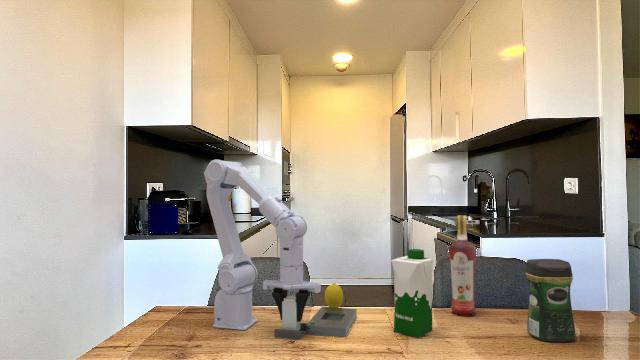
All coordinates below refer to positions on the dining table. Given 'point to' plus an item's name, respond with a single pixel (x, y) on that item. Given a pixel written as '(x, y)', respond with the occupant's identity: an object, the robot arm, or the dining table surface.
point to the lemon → (333, 296)
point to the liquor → (462, 271)
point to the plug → (290, 314)
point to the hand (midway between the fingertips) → (291, 319)
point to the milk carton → (413, 294)
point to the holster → (291, 333)
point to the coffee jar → (550, 300)
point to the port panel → (331, 322)
